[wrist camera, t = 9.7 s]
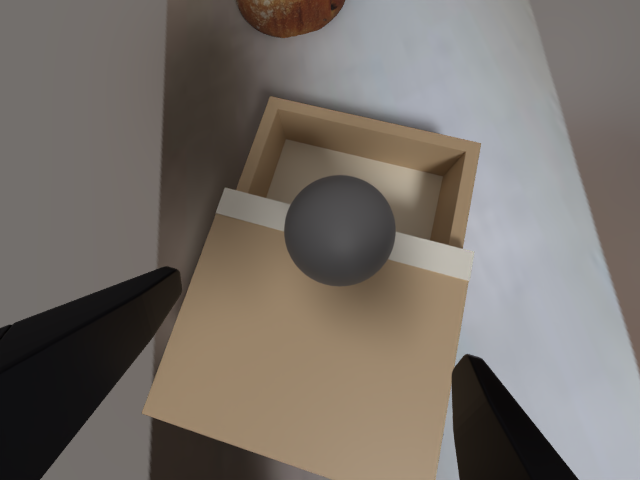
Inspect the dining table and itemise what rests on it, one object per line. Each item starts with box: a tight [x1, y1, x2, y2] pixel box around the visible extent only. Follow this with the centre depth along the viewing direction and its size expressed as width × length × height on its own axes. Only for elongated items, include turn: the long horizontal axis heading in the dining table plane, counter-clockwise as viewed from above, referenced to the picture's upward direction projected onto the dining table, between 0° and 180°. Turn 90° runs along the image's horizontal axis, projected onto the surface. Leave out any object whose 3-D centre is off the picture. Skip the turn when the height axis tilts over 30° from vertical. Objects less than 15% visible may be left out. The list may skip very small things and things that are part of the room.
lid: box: [142, 175, 474, 480], centre depth 11 cm, size 13×14×7 cm
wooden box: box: [236, 96, 481, 249], centre depth 18 cm, size 12×14×4 cm
